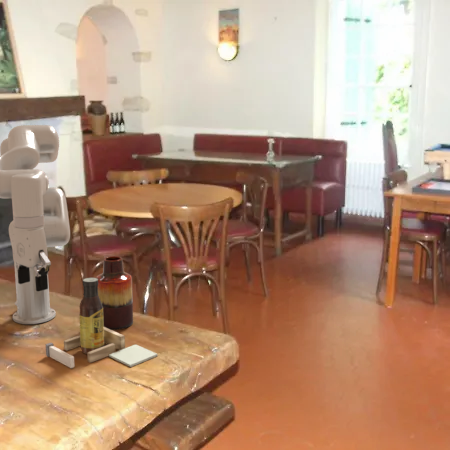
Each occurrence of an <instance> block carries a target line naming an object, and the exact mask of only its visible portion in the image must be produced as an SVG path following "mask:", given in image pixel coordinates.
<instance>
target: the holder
mask: <svg viewBox="0 0 450 450" xmlns="http://www.w3.org/2000/svg"><path fill="white" fill-rule="evenodd" d="M125 336H126V335H124V334H121V333H119V332H117V331H116V330H110V329H108V328H106V327H104V344H105V345H103V347H101V348H98V349H95V350H93V351H90V352H87V354H86V355H87V362H88V363H94V362H97V361H99V360H101V359H104V358H107V357H109V354H112V353H114V352H116V350H117V351H120V350H122V349H125V348H126V345H125V344H126V343H125V342H126V340H125V339H126V338H125ZM79 347H81V345H80V334H79V335H77V336H74V337H70V338H68V339H65V340H63V348H64V349H63V351H64V350H65V352H67V351H70V350H73V349H75V348H79Z"/></svg>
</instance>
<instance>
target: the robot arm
mask: <svg viewBox="0 0 450 450" xmlns="http://www.w3.org/2000/svg"><path fill="white" fill-rule="evenodd" d="M59 139H60V137H59V134H58V131H57V130H56V128H54V126H52V125H48V124H34V125H33V124H32V125H31V124H30V125H27V124H26V125H25V124H23V125H17V126H14V127H13V128H11V129H10V131H9V132H8V135H7V137H6V138H5V139H3V140H1V143H0V199H11V204H12V219H13V220H12V221H11V222H9V223H10V224H9V226H8V235H9V240H10V244H11V248H12V249H11V250H12V260H13V265H14V266H13V267H14V277H15V278H14V279H15V292H16V301H15V302H14V305H15V306H16V308H17V311H15V312H14V313H13V314H12V320H13V321H14V322H15V323H17V324H20V325H21V324H22V325H37V324H43V323H46V322H49V321H51V320H52V319H54V318H55V317H56V315H57V313H56V310H55V309H54V308H52V307H51V305H50V304H51V303H50V301H51V300H50V287H49V272H50V267H51V265H52V262H51V261H50V259H49V258H48V255H49V254H48V248H53V247H63V246H66V245H67V244H68V243H69V241H70V239H71V227H70V220H69V211H68V204H67V198H66V194H65V192H64V191H63V190H62V189H61V188H59V187H53V186H51V187H49V186H50V185H49V184H50V183H49V182H50V181H49V176H48V175H47V174H46V173H45V171H43V170H42V169H37V168H36V167H37V166H38V165H39V164H44V163H53V162H55V161H56V160H57V159H58V155H59V150H60V140H59Z"/></svg>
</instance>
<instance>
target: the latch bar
mask: <svg viewBox="0 0 450 450" xmlns="http://www.w3.org/2000/svg"><path fill="white" fill-rule="evenodd" d="M45 356H46V357H48V358H51V359H53V360H55V361H56V362H59V363H60V364H62V365H65V367H68V368H70V369H73V368H75V356H74V355H72V354H69V353H68V352H67V351H64V350H62V349H60V348H58V347H57V346H55V345H54V343H53V342H48V343H45Z"/></svg>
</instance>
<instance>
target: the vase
mask: <svg viewBox="0 0 450 450" xmlns="http://www.w3.org/2000/svg"><path fill="white" fill-rule="evenodd" d="M102 265H103V266H102V267H103V268H102V273H100V274H98V275H96V277H95V278H97V279H98V296H99V298H100V301H101V303H102V306H103V321H104V327H106V328H108V329H110V330H113V331H118V330H123V329H124V330H125V329H127V328H129V327H131V326H132V325H133V323H134V305H133V303H134V301H133V277H132V275H131V274H130V273H128V272H125V271H124V270H125V269H124V263H123V257H121V256H117V255H114V256H113V255H111V256H107V257H106V256H105V258H103V264H102Z"/></svg>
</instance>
